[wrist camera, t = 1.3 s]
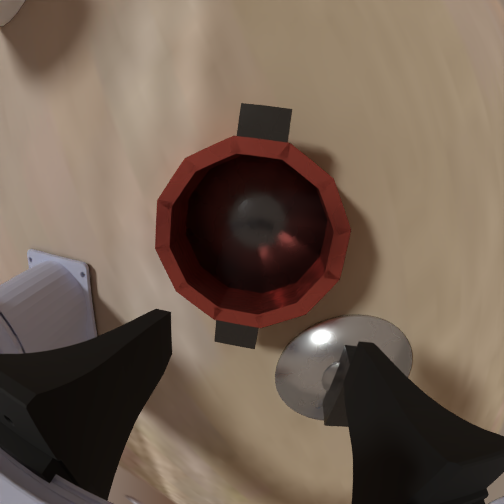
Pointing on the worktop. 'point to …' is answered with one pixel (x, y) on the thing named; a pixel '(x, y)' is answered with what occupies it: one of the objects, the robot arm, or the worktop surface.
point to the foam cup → (9, 10)
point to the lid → (333, 363)
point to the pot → (252, 228)
